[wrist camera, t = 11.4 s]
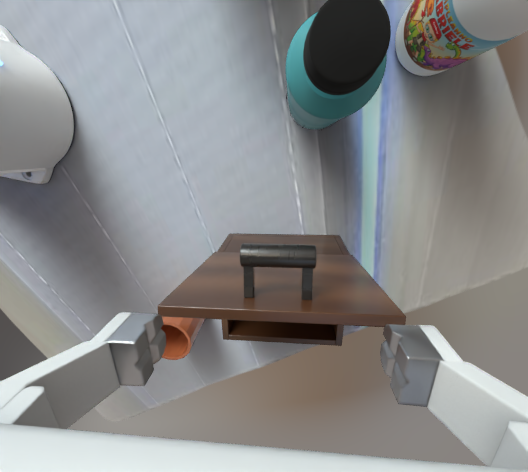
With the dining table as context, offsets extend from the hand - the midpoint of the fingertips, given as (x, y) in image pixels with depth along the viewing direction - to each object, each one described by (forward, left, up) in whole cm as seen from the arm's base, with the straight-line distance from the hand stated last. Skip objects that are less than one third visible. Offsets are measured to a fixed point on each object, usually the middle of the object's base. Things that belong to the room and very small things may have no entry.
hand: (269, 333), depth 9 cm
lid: (0, -5, -12) cm, 14 cm away
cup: (-15, -19, -27) cm, 36 cm away
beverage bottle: (+4, +11, -27) cm, 30 cm away
